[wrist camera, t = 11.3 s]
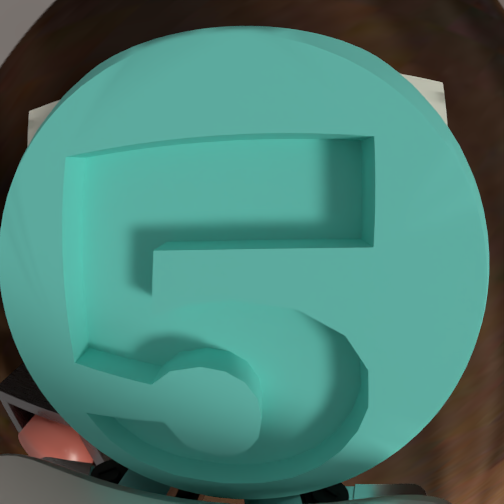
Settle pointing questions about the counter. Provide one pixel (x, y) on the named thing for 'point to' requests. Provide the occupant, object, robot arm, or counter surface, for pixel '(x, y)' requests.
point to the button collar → (34, 406)
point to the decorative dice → (245, 260)
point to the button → (52, 440)
